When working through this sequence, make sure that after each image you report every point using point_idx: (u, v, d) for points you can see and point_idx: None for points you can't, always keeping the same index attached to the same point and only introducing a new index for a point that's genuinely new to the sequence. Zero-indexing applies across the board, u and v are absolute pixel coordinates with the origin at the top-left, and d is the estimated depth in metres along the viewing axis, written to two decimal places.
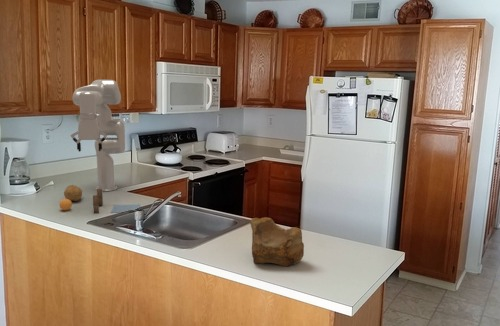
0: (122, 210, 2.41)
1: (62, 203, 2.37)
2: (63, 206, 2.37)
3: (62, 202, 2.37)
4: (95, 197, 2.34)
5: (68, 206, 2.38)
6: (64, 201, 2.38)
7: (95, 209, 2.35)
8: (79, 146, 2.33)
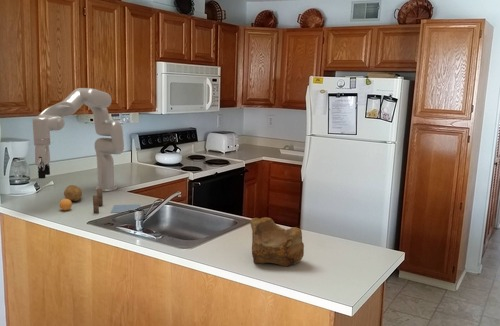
0: (122, 210, 2.41)
1: (62, 203, 2.37)
2: (63, 206, 2.37)
3: (62, 202, 2.37)
4: (95, 197, 2.34)
5: (68, 206, 2.38)
6: (64, 201, 2.38)
7: (95, 209, 2.35)
8: (45, 172, 2.32)
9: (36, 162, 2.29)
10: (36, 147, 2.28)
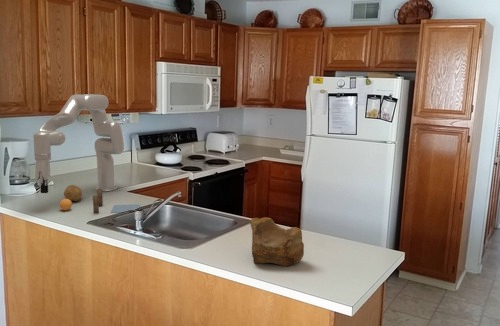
0: (122, 210, 2.41)
1: (62, 203, 2.37)
2: (63, 206, 2.37)
3: (62, 202, 2.37)
4: (95, 197, 2.34)
5: (68, 206, 2.38)
6: (64, 201, 2.38)
7: (95, 209, 2.35)
8: (47, 187, 2.36)
9: (36, 177, 2.30)
10: (37, 162, 2.30)
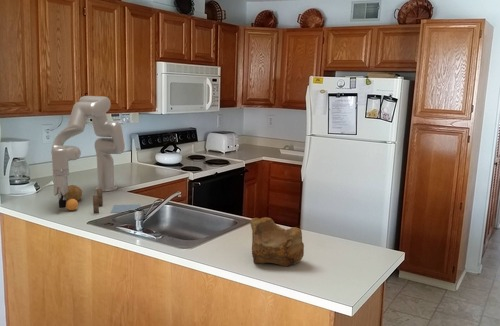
0: (122, 210, 2.41)
1: (71, 203, 2.37)
2: (69, 206, 2.37)
3: (71, 202, 2.38)
4: (95, 197, 2.34)
5: (73, 209, 2.38)
6: (73, 202, 2.38)
7: (95, 209, 2.35)
8: (65, 202, 2.39)
9: (55, 192, 2.33)
10: (55, 178, 2.32)
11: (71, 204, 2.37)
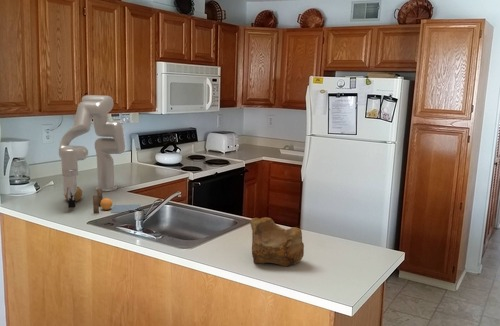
0: (122, 210, 2.41)
1: (104, 203, 2.40)
2: (105, 206, 2.40)
3: (104, 202, 2.40)
4: (95, 197, 2.34)
5: (109, 206, 2.41)
6: (106, 201, 2.40)
7: (95, 209, 2.35)
8: (74, 202, 2.40)
9: (64, 193, 2.34)
10: (65, 178, 2.33)
11: (105, 203, 2.40)
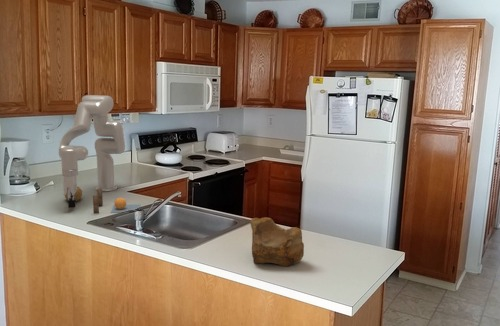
0: (122, 210, 2.41)
1: (122, 205, 2.41)
2: (119, 204, 2.41)
3: (123, 205, 2.42)
4: (95, 197, 2.34)
5: (116, 206, 2.41)
6: (122, 207, 2.42)
7: (95, 209, 2.35)
8: (74, 202, 2.40)
9: (64, 193, 2.34)
10: (65, 178, 2.33)
11: (121, 205, 2.41)
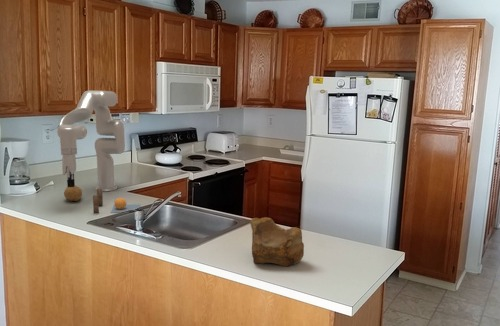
0: (122, 210, 2.41)
1: (122, 205, 2.41)
2: (119, 204, 2.41)
3: (123, 205, 2.42)
4: (95, 197, 2.34)
5: (116, 206, 2.41)
6: (122, 207, 2.42)
7: (95, 209, 2.35)
8: (73, 181, 2.38)
9: (63, 172, 2.32)
10: (63, 157, 2.31)
11: (121, 205, 2.41)
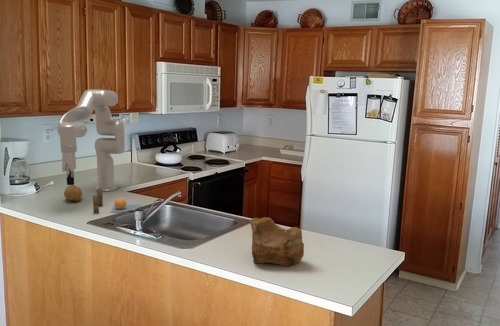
0: (122, 210, 2.41)
1: (122, 205, 2.41)
2: (119, 204, 2.41)
3: (123, 205, 2.42)
4: (95, 197, 2.34)
5: (116, 206, 2.41)
6: (122, 207, 2.42)
7: (95, 209, 2.35)
8: None
9: (63, 169, 2.32)
10: (63, 154, 2.31)
11: (121, 205, 2.41)
